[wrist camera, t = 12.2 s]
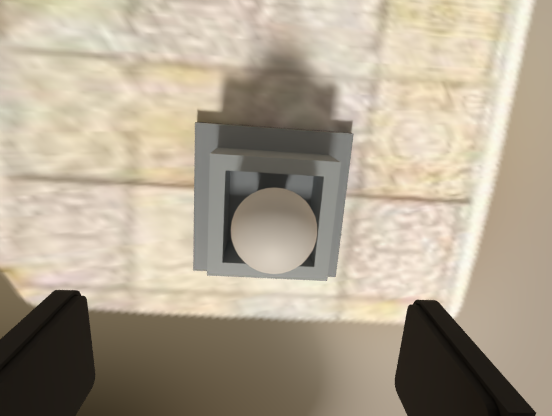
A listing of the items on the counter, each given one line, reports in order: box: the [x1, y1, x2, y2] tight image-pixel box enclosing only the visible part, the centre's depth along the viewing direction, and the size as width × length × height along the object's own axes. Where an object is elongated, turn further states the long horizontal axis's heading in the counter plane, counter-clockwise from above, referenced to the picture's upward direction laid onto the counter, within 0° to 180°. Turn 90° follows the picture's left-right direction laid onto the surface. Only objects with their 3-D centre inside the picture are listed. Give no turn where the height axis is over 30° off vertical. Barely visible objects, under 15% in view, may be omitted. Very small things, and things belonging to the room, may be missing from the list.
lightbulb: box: [231, 188, 317, 274], centre depth 27 cm, size 6×6×11 cm
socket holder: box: [193, 122, 353, 281], centre depth 31 cm, size 14×14×6 cm
